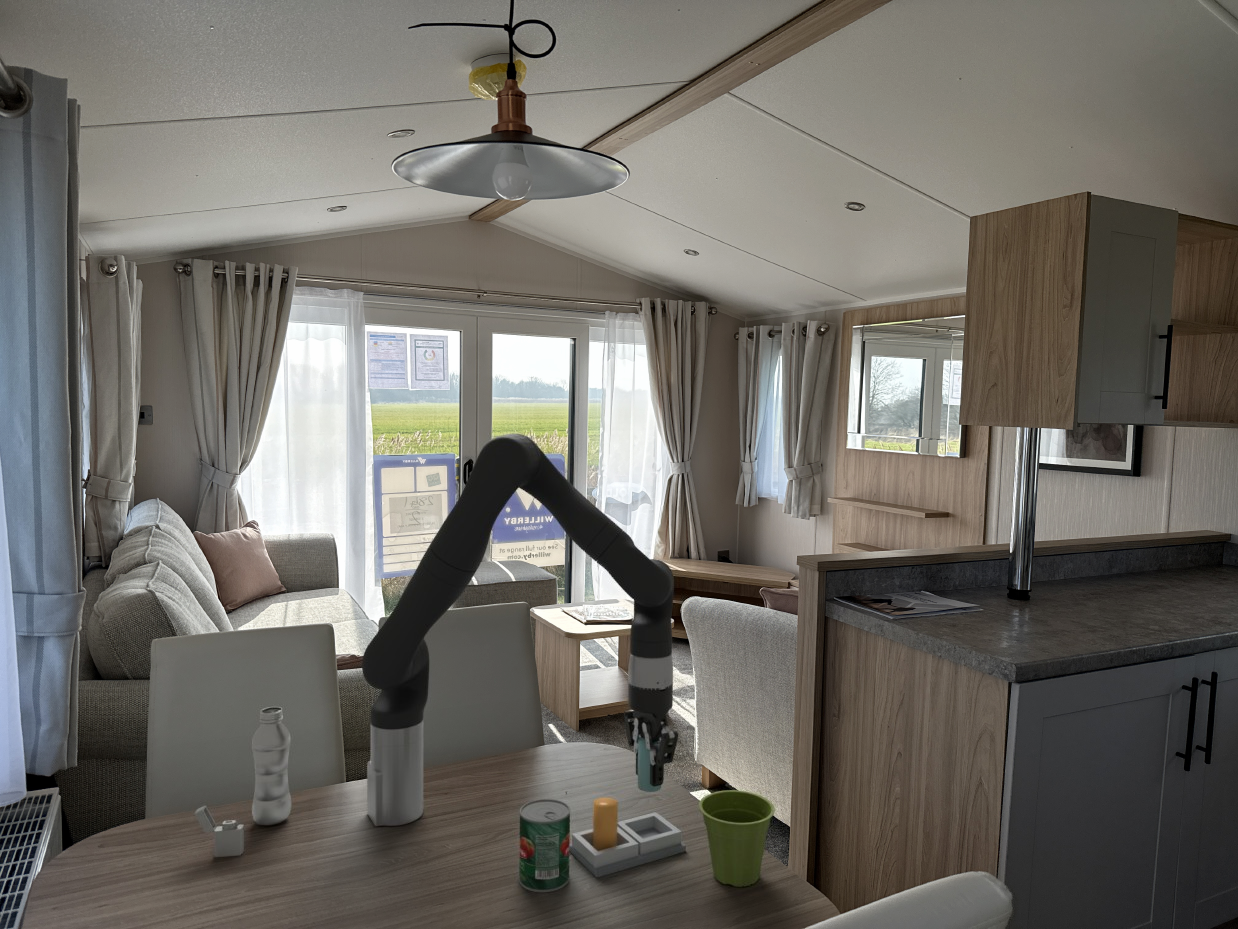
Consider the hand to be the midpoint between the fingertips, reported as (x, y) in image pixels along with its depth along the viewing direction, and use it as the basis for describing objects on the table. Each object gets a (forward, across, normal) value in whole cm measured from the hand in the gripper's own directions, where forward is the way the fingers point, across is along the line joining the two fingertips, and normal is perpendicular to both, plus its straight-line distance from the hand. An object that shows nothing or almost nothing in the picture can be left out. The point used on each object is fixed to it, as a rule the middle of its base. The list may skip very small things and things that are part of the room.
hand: (649, 779), depth 140 cm
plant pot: (+11, +15, +7) cm, 20 cm away
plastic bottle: (+11, -39, -54) cm, 68 cm away
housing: (+11, 0, -4) cm, 12 cm away
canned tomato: (+11, +1, -20) cm, 23 cm away
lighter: (+11, -31, -63) cm, 71 cm away
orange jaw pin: (+10, 0, -8) cm, 13 cm away
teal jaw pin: (+1, 0, 0) cm, 1 cm away
